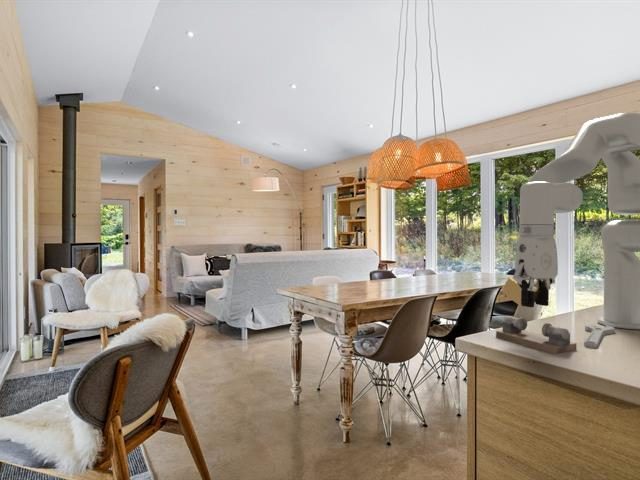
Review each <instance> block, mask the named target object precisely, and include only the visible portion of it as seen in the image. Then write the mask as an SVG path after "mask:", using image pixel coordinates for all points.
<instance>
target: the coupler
mask: <svg viewBox="0 0 640 480" xmlns="http://www.w3.org/2000/svg"><path fill="white" fill-rule="evenodd" d="M528 282H529V281H527V283H528ZM519 287H520V286H519V285H518V283H517V282H516V281H515V280H514V279H513V276H512V277H508V278H507V280H506V282H505V283H504V286H503V289H502V291H501V293H503V294H504V295H505V296H507V298H509V299H511V300H512V302H514V303H516V305H518V306H519V307H521V308H522V307H523V308H524V307H525V306H522V305H521V290H520V288H519ZM537 288H538V287H536V286H534V285H533V289H532V291H534V304H536V303H535V301H536V299H537V297H538V295H539V293H540V290H539V288H538V289H537Z"/></svg>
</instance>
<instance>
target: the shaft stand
mask: <svg viewBox="0 0 640 480" xmlns="http://www.w3.org/2000/svg"><path fill="white" fill-rule="evenodd" d="M527 328H528V320H527V319H526V318H525V317H519V318H517V317H515V316H514V317H513V316H511V315H510V316H509V315H506V316H505V317H504V318H503V321H502V330H496V333H495V334H496V335H495V336H496V338H499V339H503V340H505V341H509V342H512V343H517V344H519V345H522V344H523V346H527V347H530V348H533V349H537V350H540V351H544V352H547V353H551V354H554V355H555V354H559V353H566V352H570V351H576V350H577V343H576V342H574V341H571V333H570V331H569V329H567V328H562V327H559V326H553V325H552V324H551V323H548V322H546V323H543V325H542V327H541V333H542V334H541V333H538V332H532V331H529V330H526V329H527Z"/></svg>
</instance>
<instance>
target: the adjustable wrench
mask: <svg viewBox="0 0 640 480" xmlns="http://www.w3.org/2000/svg"><path fill="white" fill-rule="evenodd" d="M615 329H616V327H611V326H607V325H604V327H603V326H602V327H601V326H596V325H595V324H592V323H591V324H588V325H586V326H584V331H586V332H590V333H589V335H588V336H587V337H586V339H584V341H583V347H586V348H588V349H589V348H590V349H597V348H598V346H599V344H600V342H601V340H602V338H603V336H604V335H609V334H610V335H612V334H615V331H616V330H615Z"/></svg>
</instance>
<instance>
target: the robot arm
mask: <svg viewBox="0 0 640 480" xmlns="http://www.w3.org/2000/svg"><path fill="white" fill-rule="evenodd" d="M639 150H640V113H639V112H638V113H637V112H623V113H617V114H613V115H609V116H603V117H600V118H594V119H593V120H589V121H587V122H585V123H583V125H581V127H580V128H579V129H578V131H577V132H576V134H575V136H574V137H573V139H572V140H571V141H570V142H569V144H568V146H567V148H566V150H564V152H563V153H562V154H561V155H559V156H557V157H556V158H555V159H552V160H551V161H550V162H548V163H547V164H546V165H544V166H543V167H541V168H540V169H538V170H537V171H536V172H535V173H533V175H532V176H531V177H530V178H529V180H528V181H527V182H526V183H523V184H522V185H521V187H520V189H519V222H518V223H519V227H518V229H519V230H518V231H519V232H518V234H519V236H518V240H517V246H516V253H515V268H514V269H515V271H514V274H513V276H512V277H513V279H514V280H515V281H516V282H517V283H518V285H519V286H520V287H519V288H520V290H521V305H522V306H524V307H527V308H534V307H535V305H538V306H543V307H548V306H549V303H550V302H549V299H550V298H549V295H550V290H551V285H552V283H553V281H554V280H555V279H556V278H557V276H558V274H559V273H558V272H559V268H558V267H559V266H558V265H559V264H558V261H559V260H558V248H557V243H556V238H554V235H555V234H554V233H555V231H554V229H555V214H565V213H571V212H572V213H573V212H574V211H576V210H577V209H579V208H580V206H581V205H582V204H583V200H584V194H583V193H584V192H583V191H582V190H581V188H580V187H579V186H578V185H577V184H574V183H571V181H575V180H577V179H579V178H582V177H584V176H586V175H589V174H590V173H592V172H593V171H594V170H595V169H596V168H597V165H598V163H599V162H600V160H602V161H603V163H604V165H605V167H606V170H607V209H608V210H609V212H610V213H611V214H614V215H618V216H635V215H636V216H637V215H638V216H639V215H640V158H639V157H638V156H637V155H636V154H634V153H633V152H634V151H639ZM600 237H601V243H602V249H603V256H604V257H603V259H604V263H603V264H604V266H603V267H604V268H603V269H604V270H603V271H604V272H603V276H604V277H603V311H602V312H603V316H600V317H599V316H598V317H597V319H596V321H597V323H598V324H600V325H603V326H605V325H607V326H611V327H614V328H619V329H627V330H640V257H638V256H637V254H636V253H640V219H635V218H634V219H615V220H611V221H609V222H607V223H605V224H604V225H603V227H602V228H601V233H600ZM535 280H536V285H537V287H536V288H537V289H539V290H540V293H539V295H538V297H537V299H536V301H535V303H534V291H532V289H533V286H534V284H535V282H534V281H535ZM527 282H528V283H527Z"/></svg>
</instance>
